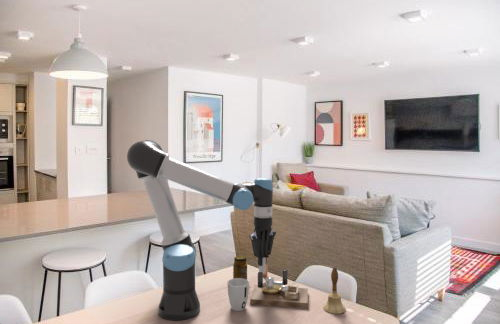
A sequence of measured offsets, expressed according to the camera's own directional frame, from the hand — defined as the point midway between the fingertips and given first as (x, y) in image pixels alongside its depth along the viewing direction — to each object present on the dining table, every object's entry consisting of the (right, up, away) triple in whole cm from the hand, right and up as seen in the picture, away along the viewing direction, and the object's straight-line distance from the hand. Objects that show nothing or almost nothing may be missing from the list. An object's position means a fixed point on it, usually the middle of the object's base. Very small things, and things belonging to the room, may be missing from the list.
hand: (262, 272), depth 161 cm
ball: (+9, -7, -5) cm, 12 cm away
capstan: (+4, -7, -5) cm, 9 cm away
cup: (-10, -10, -13) cm, 19 cm away
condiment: (-9, -8, +9) cm, 15 cm away
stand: (+7, -9, -5) cm, 12 cm away
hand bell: (+27, -10, -14) cm, 32 cm away
